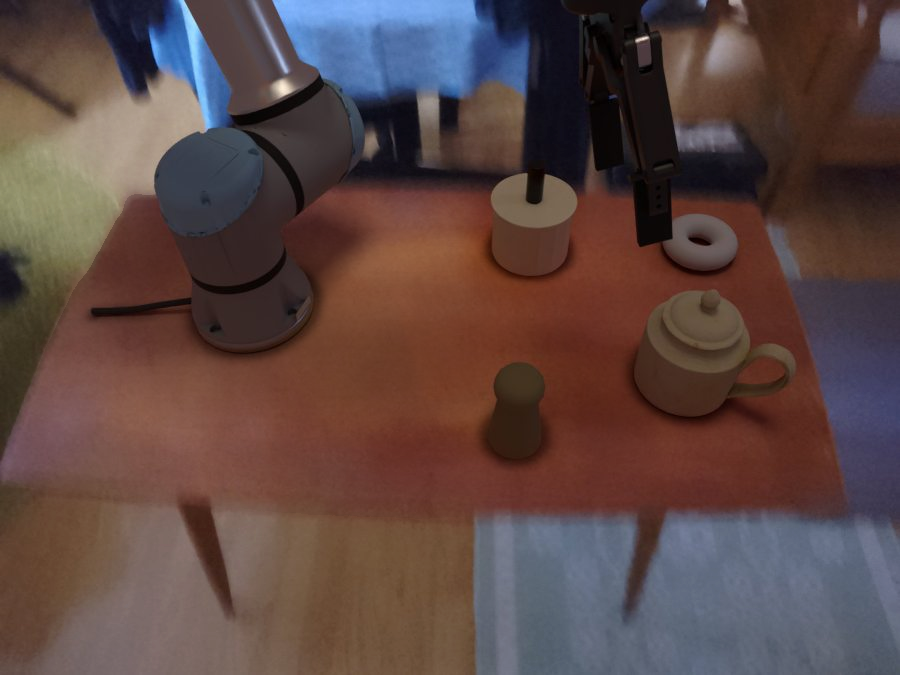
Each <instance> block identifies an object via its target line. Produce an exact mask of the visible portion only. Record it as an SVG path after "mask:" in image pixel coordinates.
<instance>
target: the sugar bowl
mask: <svg viewBox="0 0 900 675" xmlns="http://www.w3.org/2000/svg"><path fill="white" fill-rule="evenodd" d="M750 349H751V336H750V334H749V331H748V328H747V326H746V325H745V321H744V318H743V316H742V314H741V313H740V310H739V309H738V308H737V307H736V306H735V304H733V303H732V302H731V301H729V300H727V299H726V298H724V297H722V296H721V295H720V292H719V290H716V289H714V288H711V289H707V290H706V291H704V290H684V291H682V292H678V293H676V294H674V295H672V296H671V297H670V298H668V300H666V301H664V302H661V303H659V304H658V305H657V306H656V307H655V308H654V309H653V310H652V311H651V312H650V314H649V316H648V318H647V321H646V324H645V327H644V330H643V332H642V336H641V340H640V343H639V346H638V351H637V355H636V359H635V363H634V367H633V378H634V382H635V385H636V388H637V389H638V391H639V393H640V394H641V395H642V396H643V398H645V399H646V401H648V402H649V403H650V404H651V405H653V406H654V407H656V408H657V409H659V410H660V411H664V412H665V413H668V414H671V415H675V416H678V417H679V416H680V417H687V418H689V417H693V418H694V417H700V416H705V415H708V414H710V413H712V412H714V411H716V410H717V409H719V408H720V407H721V406H722V405H723V404H724V402H725V401H726V399H732V398H763V397H768V396H773V395H775V394H777V393H779V392H782V391H783V390H784V389H785V388H787V387H788V386H789V385H790V384H791V382H793V379H794V378H795V375H796V372H797V362H796V360H795V359H796V358H795V356H794V355H793V354H792V352H791V351H790V350H789V349H788V348H786V347H784V346H782V345H780V344H778V343H763V344H759V345H758V346H756V347H754V348H753V349H751V350H750ZM762 358H765V359H766V358H767V359H772V360H774V361H776V362H777V363H779V365H781V366H782V368H783V370H784V374H783V375H782V376H781V377H779V378H777V379H776V380H771V381H769V382H763V383H762V382H761V383H746V382H736V380H737V378H738V377H739V376H740V374H741V373H742V372H743V371H745V370H746V369H747V368H748V367H749V366H751V364H753V363H754V362H755V361H756V360H758V359H762Z"/></svg>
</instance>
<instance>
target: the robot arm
mask: <svg viewBox="0 0 900 675" xmlns="http://www.w3.org/2000/svg"><path fill="white" fill-rule="evenodd" d="M183 1H184V3H185V5H186V7H187V9H188V11H189V13H190V15H191V17H192V19H193V20H194V22H195V25H196V26H197V28H198V30H199V32H200V34H201V36H202V37H203V39H204V41H205V43H206V46H207V47H208V48H209V51H210V53H211V55H212V56H213V58H214V60H215V62H216V64H217V66H218V67H219V69H220V72H221V74H222V75H223V78H224V79H225V81H226V83H227V85H228V87H229V88H230V97H229V99H228V100H229V101H228V103H227V107H226V111H227V113H228V114H229V116H230V118H231V120H232V122H233V124H234V126H235V127H236V128H233V127H226V126H218V127H217V126H216V127H210V128H207V130H206V131H205V132H200V131H195V132H192V133H190V134H188V135H186V136H184V137H182V138H181V139H179V140H178V141H177V142H175V143H174V144H172V145H171V147H169V148H168V149H167V150H166V151H165V152H164V154H163V155H162V157H161V158H159V161H158V163H157V164H156V168H155V171H154V176H153V177H154V178H153V183H154V184H153V188H154V192H155V196H156V199H157V202H158V205H159V212H160V214H161V217H162V219H163V221H164V223H165V224H166V225H167V227H168V228H169V231H170V234H171V235H172V238H173V240H174V242H175V245H176V246H177V249H178V251H179V253H180V255H181V258H182V260H183V263H184V265H185V267H186V269H187V271H188V273H189V275H190V278H191V290H190V291H191V294H190V295H191V296H190V297H184V298H177V299H176V298H175V299H170V300H169V299H168V300H162V301H156V302H149V303H144V304H137V305H131V306H119V307H117V306H116V307H92V308H91V309H90V314H91V315H92V316H96V315H97V316H99V315H101V316H102V315H104V316H105V315H125V314H126V315H127V314H134V313H135V314H136V313H142V312H148V311H153V310H161V309H167V308H175V307H181V306H188V305H190V310H191V317H192V320H193V323H194V325H195V327H196V329H197V331H198V333H199V334H200V336H201V337H202V339H203V340H205V341H206V343H208V344H210V345H211V346H213V347H215V348H216V349H220V350H222V351H226V352H230V353H231V352H232V353H240V354H242V353H244V354H245V353H255V352H261V351H264V350H268V349H271V348H275V347H276V346H279V345H280V344H283V343H285V342H286V341H288V340H289V339H291V338H292V337H294V336H295V335H296V334H297V333H298V332H299V331H301V330H302V328H303V327H304V326H305V325H306V323H308V320H309V319H310V317H311V315H312V312H313V309H314V302H315V301H314V300H315V299H314V293H313V288H312V285H311V282H310V279H309V278H308V276H307V275H306V273H305V272H304V271H303V269H302V268H301V267H300V265H299V264H298V263H297V262H296V260H295V259H294V258H293V257H292V255H291V254H290V253H289V251H288V250H287V249H286V245H285V241H284V238H283V233H282V231H283V228H284V227H286V226H287V225H288V224H289V223H290V222H291V221H293V220H294V219H295V218H296V217H297V216H299V215H300V214H301V213H303V211H305V210H306V209H307V208H309V207H310V206H311V205H312V204H314V203H315V202H316V201H317V200H318V199H319V198H321V197H323V195H324V194H326V193H327V192H328V191H330V189H332V188H333V187H335V186H336V185H339V184H340V183H342V181H344V180H345V178H346V177H347V176H348V174H349V173H350V172H351V171H352V170H353V169H354V168H355V167H356V166H357V165H358V164H359V162H360V161H361V159H362V156H363V153H364V150H365V145H366V134H365V126H364V121H363V119H362V116H361V114H360V112H359V109H358V107H357V105H356V103H355V101H354V100H353V99H352V97H351V96H350V94H348V93H344V92H343V87H342V86H341V85H339V84H338V83H337V82H334V81H333V80H331V79H327V78H324V77H322V75H321V73H320V70H319V68H318V67H316V66H314V65H311V64H309V63H307V62H305V61H303V60H302V59H300V57H299V55H298V53H297V51H296V49H295V47H294V45H293V42H292V40H291V38H290V36H289V33H288V31H287V29H286V27H285V25H284V22H283V21H282V18H281V16H280V13H279V11H278V9H277V6H276V5H275V3H274V1H273V0H183ZM648 1H649V0H560V3H561V5H562V7H563V8H564V9H565V10H566V11H568V12H569V13H572V14H575V15H578V35H579V36H578V47H579V48H578V60H579V61H578V65H579V66H578V69H579V70H578V74H579V76H578V84H579V85H580V87H581V89H584V94H583V95H584V98H585V99H586V101H587V102H588V103H589V104H587V112H588V122H589V130H590V138H591V145H592V147H591V148H592V154H593V163H594V169H595V171H596V172H601V171H605V170H608V169H611V168H616V167H620V166H624V165H625V155H624V153H625V152H624V143H623V134H622V133H623V132H622V122H623V125H624V129H625V133H626V137H627V141H628V146H629V149H630V153H631V157H632V161H633V164H634V171H633V172H629V174H628V175H626V179H627V181H628V183H629V184H631V183H632V196H633V209H634V217H635V218H634V219H635V220H634V222H635V232H636V233H635V234H636V243H637V245H638V247H639V248H643V247H647V246H651V245H654V244H659V243H662V242H663V241H667V240H671V239H673V230H672V221H673V210H672V209H673V207H672V204H673V203H672V181H671V179H672V178H675V177H679V176H681V175H682V174H683V164H682V163H681V157H680V156H681V155H680V151H679V146H678V140H677V133H676V128H675V124H674V123H675V122H674V118H673V112H672V106H671V101H670V94H669V89H668V85H667V78H666V73H665V66H664V56H663V44H662V43H663V37H662V35H661V33H660V31H659V30H658V29H656V30H653V31H651V29H650V26H649V23H648V21H646V20H645V21H644V17H643V16H644V15H643V14H642V8H643V7H644V5H646V3H647V2H648ZM611 96H615V97H612V98H610V97H611ZM590 102H591V103H590ZM621 118H622V119H621Z"/></svg>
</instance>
